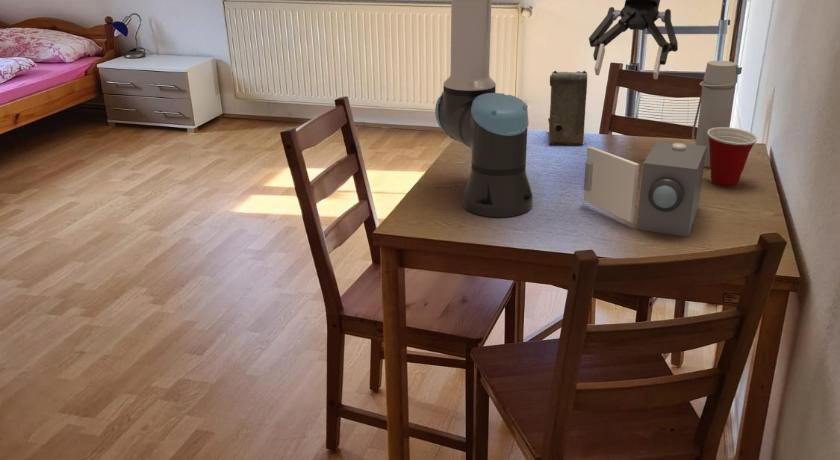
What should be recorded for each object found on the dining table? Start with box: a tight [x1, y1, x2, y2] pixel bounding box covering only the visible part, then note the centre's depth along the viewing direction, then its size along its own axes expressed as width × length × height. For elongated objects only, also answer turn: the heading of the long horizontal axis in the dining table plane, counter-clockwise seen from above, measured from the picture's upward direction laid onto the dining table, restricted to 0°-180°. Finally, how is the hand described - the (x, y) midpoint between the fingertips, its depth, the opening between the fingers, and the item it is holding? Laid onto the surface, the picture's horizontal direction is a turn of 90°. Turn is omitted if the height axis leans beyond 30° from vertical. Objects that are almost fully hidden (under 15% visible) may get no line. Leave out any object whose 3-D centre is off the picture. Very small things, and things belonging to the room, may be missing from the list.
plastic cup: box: [707, 126, 758, 188], centre depth 178 cm, size 11×11×12 cm
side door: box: [583, 145, 640, 222], centre depth 160 cm, size 14×2×12 cm, turn 30°
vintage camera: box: [547, 70, 588, 146], centre depth 212 cm, size 10×16×20 cm, turn 174°
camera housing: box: [636, 140, 707, 238], centre depth 158 cm, size 18×10×15 cm, turn 155°
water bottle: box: [691, 60, 738, 169], centre depth 189 cm, size 9×8×25 cm
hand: (625, 73), depth 171 cm, fingers open, 12 cm apart
